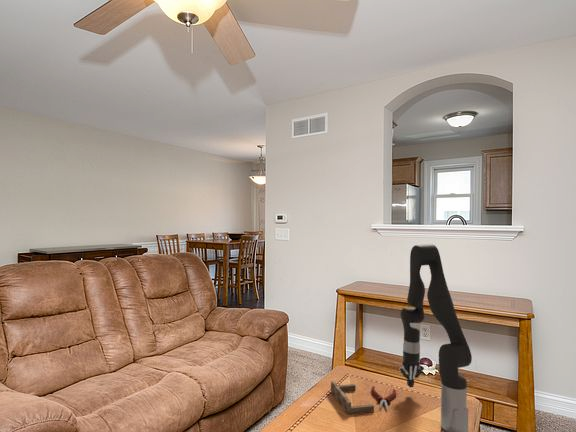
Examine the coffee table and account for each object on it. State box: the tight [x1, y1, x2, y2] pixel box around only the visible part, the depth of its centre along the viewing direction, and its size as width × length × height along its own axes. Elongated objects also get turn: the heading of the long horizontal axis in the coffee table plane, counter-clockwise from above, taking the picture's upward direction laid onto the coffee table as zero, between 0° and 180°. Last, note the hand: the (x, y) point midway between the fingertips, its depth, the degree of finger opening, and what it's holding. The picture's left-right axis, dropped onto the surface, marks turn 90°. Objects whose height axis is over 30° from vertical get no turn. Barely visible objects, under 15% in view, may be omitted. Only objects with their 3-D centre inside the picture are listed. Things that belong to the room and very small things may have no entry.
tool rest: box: [330, 380, 375, 415], centre depth 161 cm, size 21×12×5 cm, turn 13°
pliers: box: [370, 386, 397, 411], centre depth 162 cm, size 12×20×3 cm, turn 165°
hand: (410, 386), depth 169 cm, fingers closed
